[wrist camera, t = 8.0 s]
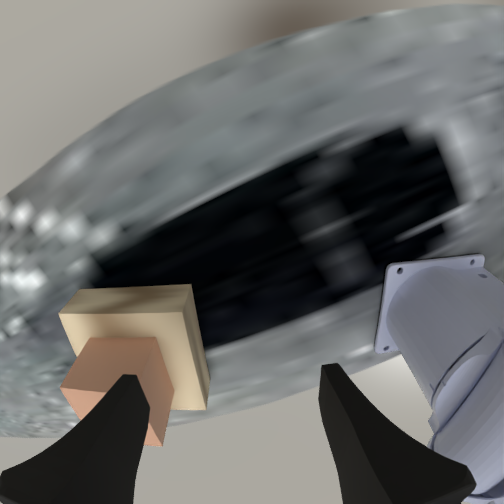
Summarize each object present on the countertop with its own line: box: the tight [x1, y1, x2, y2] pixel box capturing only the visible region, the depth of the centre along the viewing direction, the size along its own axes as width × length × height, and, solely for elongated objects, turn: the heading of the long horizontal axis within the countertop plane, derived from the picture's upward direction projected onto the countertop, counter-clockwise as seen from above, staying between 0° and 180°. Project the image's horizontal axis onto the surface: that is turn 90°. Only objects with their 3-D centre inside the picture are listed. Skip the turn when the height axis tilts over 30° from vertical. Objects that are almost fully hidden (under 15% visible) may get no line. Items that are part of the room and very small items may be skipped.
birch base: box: [59, 284, 210, 410], centre depth 21 cm, size 9×9×4 cm
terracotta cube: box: [60, 337, 174, 446], centre depth 17 cm, size 5×5×5 cm
